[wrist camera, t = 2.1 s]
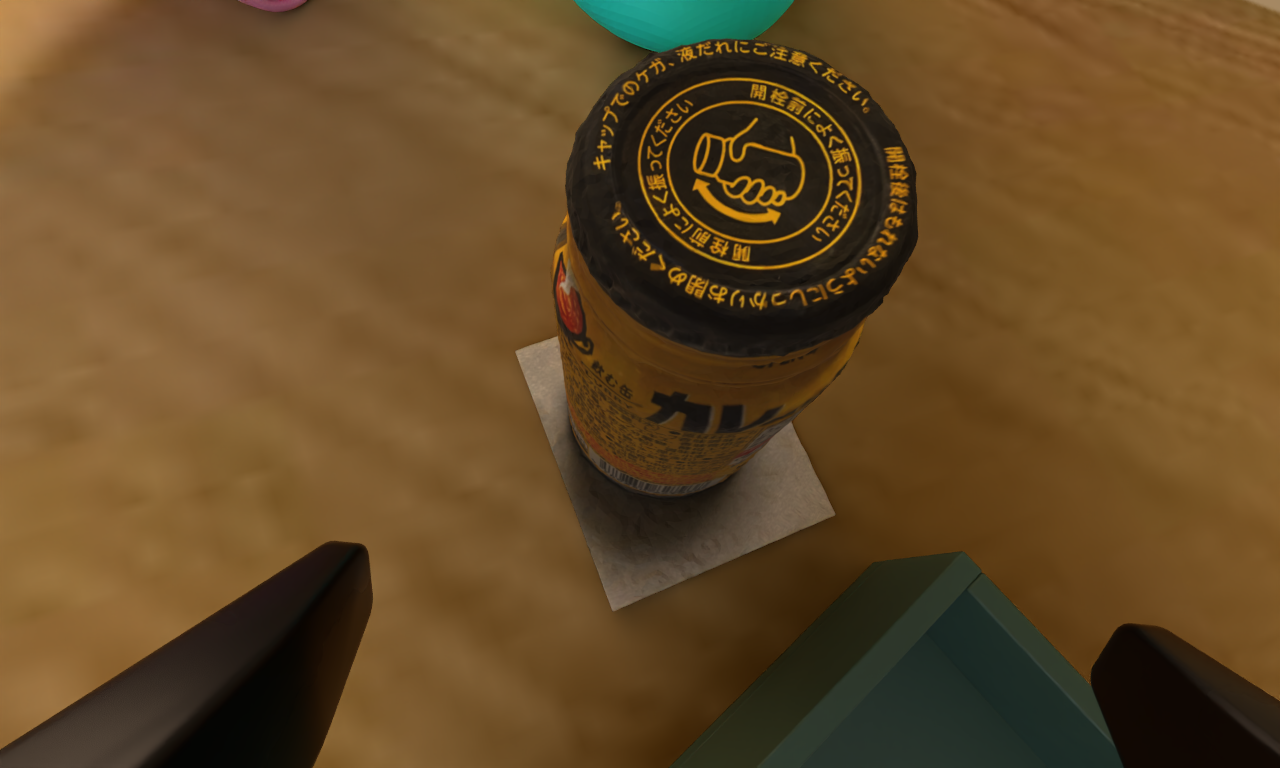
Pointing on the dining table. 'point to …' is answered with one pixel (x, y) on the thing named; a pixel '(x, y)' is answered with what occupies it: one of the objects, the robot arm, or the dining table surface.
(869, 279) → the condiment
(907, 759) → the square tray
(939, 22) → the dining table surface
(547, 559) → the dining table surface
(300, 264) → the dining table surface
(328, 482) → the dining table surface
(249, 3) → the pencil case
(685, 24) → the donuts
